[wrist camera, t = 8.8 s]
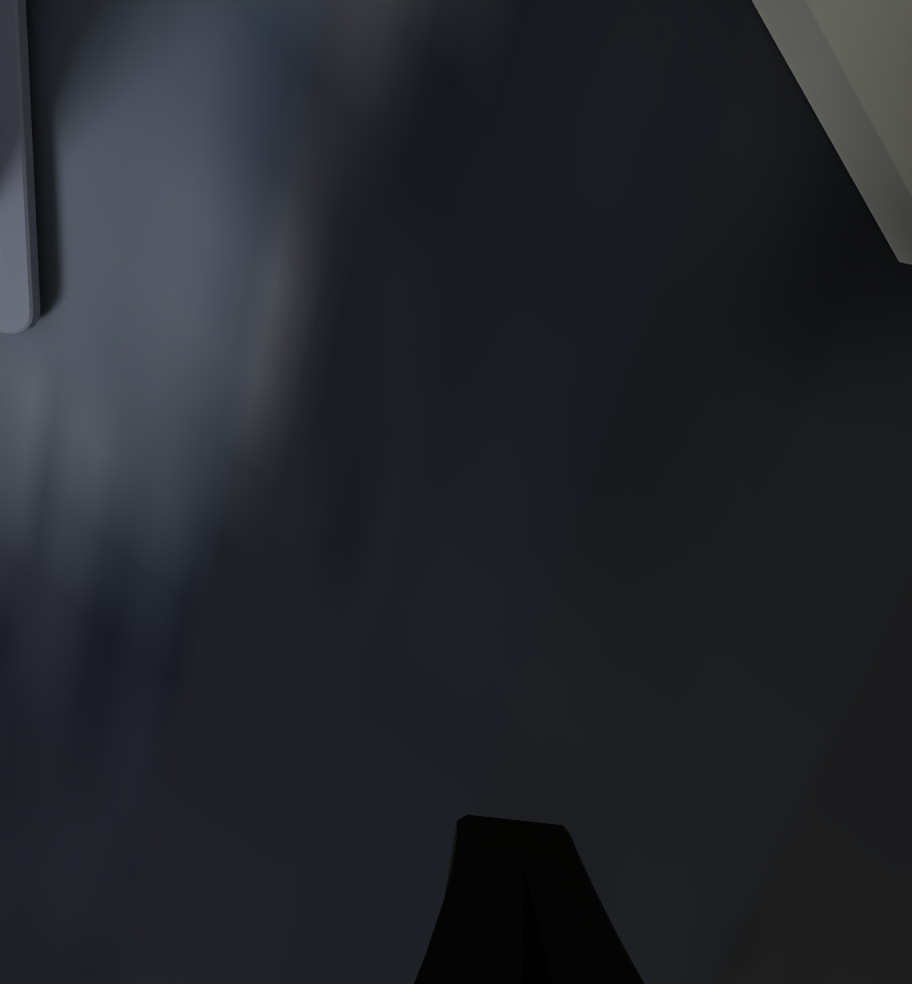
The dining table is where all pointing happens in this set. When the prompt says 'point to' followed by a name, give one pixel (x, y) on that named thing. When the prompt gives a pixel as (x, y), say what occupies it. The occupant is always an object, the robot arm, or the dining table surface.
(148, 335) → the dining table surface
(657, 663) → the dining table surface
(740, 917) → the dining table surface
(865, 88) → the mount board
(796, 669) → the dining table surface
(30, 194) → the robot arm
